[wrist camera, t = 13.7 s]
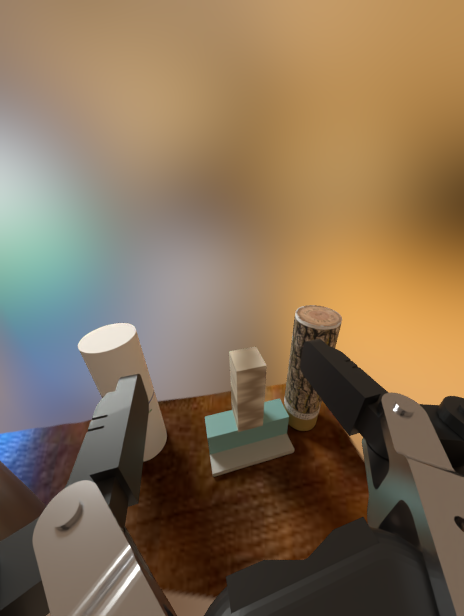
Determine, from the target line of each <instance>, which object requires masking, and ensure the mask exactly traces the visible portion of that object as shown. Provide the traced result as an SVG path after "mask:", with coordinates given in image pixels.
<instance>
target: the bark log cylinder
mask: <svg viewBox="0 0 464 616" xmlns="http://www.w3.org/2000/svg"><path fill="white" fill-rule="evenodd" d="M341 321H342V317H341V316H340V314H339V313H337V312H336V311H334V310H332V309H329V308H326V307H322V306H314V305H310V306H303V307H300V308H298V309H297V310H296V314H295V320H294V328H293V336H292V344H291V353H290V359H289V367H288V375H287V383H286V391H285V399H284V408H285V410H286V412H287V414H288V415H289V421H288V424H289V425H290V426H291V427H293V428H294V429H296V430H299V431H308V430H310V429H312V428H313V427H314V426H315V424H316V421H317V417H318V413H319V410H320V406H321V402H322V399H321V398H320V397H319V395H318V394H317V393H316V391H315V390H314V389H313V387H312V386H311V385H310V383H309V382H308V381H307V380H306V378H305V377H304V376H303V374H302V372H301V368H300V361H301V356H302V350H303V344H304V342H306V341H310V340H315V339H321V340H322V341H324V342H325V343H326V344H327V345H328V346H329V347H333V348H335V346H336V342H337V338H338V334H339V330H340V326H341Z"/></svg>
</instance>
